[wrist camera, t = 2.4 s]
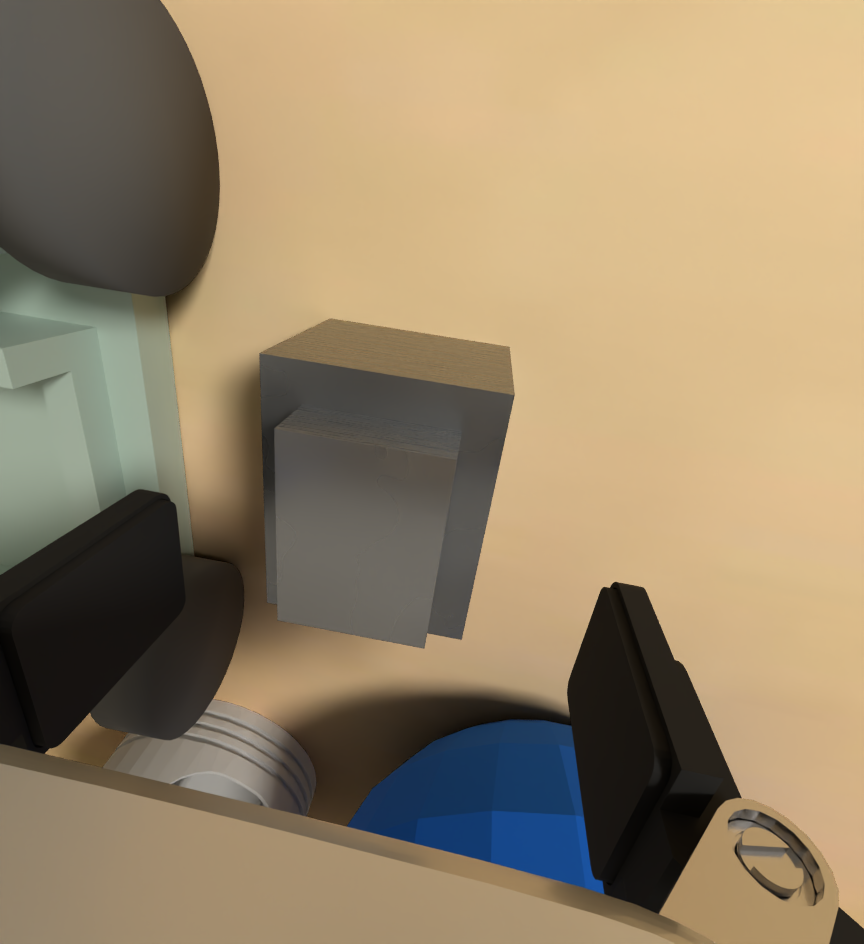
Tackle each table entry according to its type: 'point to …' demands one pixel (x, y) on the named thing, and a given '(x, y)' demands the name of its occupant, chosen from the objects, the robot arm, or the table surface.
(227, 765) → the engine component
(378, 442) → the block
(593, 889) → the vase
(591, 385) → the table surface
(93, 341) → the chassis
